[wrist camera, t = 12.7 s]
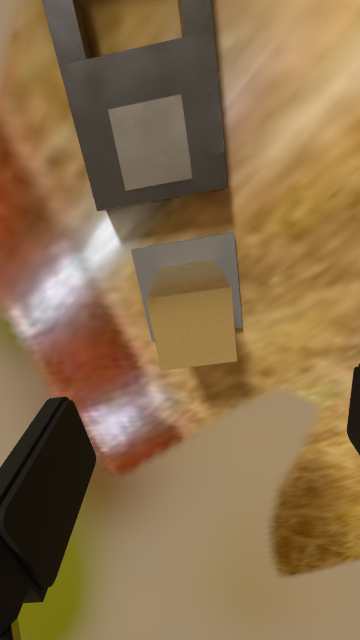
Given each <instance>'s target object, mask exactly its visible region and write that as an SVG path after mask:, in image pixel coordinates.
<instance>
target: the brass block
mask: <svg viewBox="0 0 360 640" xmlns="http://www.w3.org/2000/svg"><path fill="white" fill-rule="evenodd" d="M146 301H147V305H148V310H149V315H150V320H151V325H152V329H153V334H154V339H155V344H156V349H157V353H158V358H159V363H160V368H161V371H162V370H171V369H179V368H187V367H195V366H203V365H211V364H219V363H227V362H235V361H237V352H236V339H235V327H234V315H233V302H232V290H231V286H230V284H229V282H228V281H227V279H226V277H225V276H224V274H223V273H222V271H221V269H220V268H219V266H218V264H217V263H216V261H215V259H214V260H207V261H200V262H194V263H187V264H180V265H174V266H167V267H160V268H159V269H158V271H157V274H156V276H155V278H154V281H153V283H152V286H151V288H150V291H149V293H148V296H147V298H146Z"/></svg>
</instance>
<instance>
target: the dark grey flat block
mask: <svg viewBox="0 0 360 640" xmlns="http://www.w3.org/2000/svg"><path fill="white" fill-rule="evenodd" d="M42 2H43V6H44V10H45V14H46V18H47V21H48V25H49V29H50V33H51V37H52V40H53V44H54V48H55V52H56V56H57V59H58V63H59V67H60V71H61V75H62V78H63V82H64V86H65V90H66V94H67V98H68V101H69V105H70V109H71V113H72V117H73V120H74V124H75V128H76V132H77V136H78V139H79V143H80V147H81V151H82V155H83V158H84V162H85V166H86V170H87V174H88V178H89V181H90V185H91V189H92V193H93V197H94V200H95V204H96V208H97V211H108V210H113V209H118V208H124V207H129V206H135V205H140V204H146V203H151V202H157V201H162V200H168V199H173V198H179V197H184V196H190V195H195V194H200V193H206V192H211V191H217V190H222V189H225V188H227V187H228V183H227V172H226V161H225V149H224V138H223V127H222V116H221V104H220V93H219V82H218V71H217V59H216V48H215V37H214V26H213V14H212V3H211V0H178V6H179V14H180V22H181V31H182V38H179V39H175V40H170V41H166V42H161V43H157V44H153V45H148V46H144V47H139V48H135V49H130V50H126V51H122V52H117V53H113V54H108V55H104V56H100V57H95V58H93V55H92V50H91V46H90V41H89V37H88V32H87V28H86V23H85V19H84V14H83V10H82V5H81V1H80V0H42Z"/></svg>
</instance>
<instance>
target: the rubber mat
mask: <svg viewBox="0 0 360 640" xmlns="http://www.w3.org/2000/svg"><path fill="white" fill-rule="evenodd" d="M131 251H132V255H133V260H134V264H135V268H136V273H137V277H138V281H139V286H140V290H141V294H142V299H143V303H144V308H145V312H146V316H147V321H148V325H149V329H150V334H151V338H152V341H155V339H154V334H153V329H152V325H151V320H150V315H149V310H148V305H147V301H146V298H147V296H148V293H149V291H150V288H151V286H152V283H153V281H154V278H155V276H156V274H157V271H158V269H159V268H160V267H167V266H174V265H180V264H187V263H194V262H200V261H207V260H214V259H215V261H216V263H217V264H218V266H219V268H220V269H221V271H222V273H223V274H224V276H225V277H226V279H227V281H228V282H229V284H230V286H231V290H232V302H233V315H234V327H235V329H239V328H242V317H241V305H240V293H239V282H238V270H237V258H236V247H235V235H234V232H231V233H226V234H220V235H214V236H208V237H202V238H196V239H190V240H185V241H179V242H173V243H167V244H161V245H155V246H150V247H144V248H138V249H132V250H131Z"/></svg>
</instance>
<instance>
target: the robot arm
mask: <svg viewBox="0 0 360 640" xmlns="http://www.w3.org/2000/svg"><path fill="white" fill-rule="evenodd" d="M347 434H348V437H349V439H350V441H351V443H352V444H353V446H354V447H355V449H356V450H357V452H358V453H359V455H360V364H359V367H355V368H354V373H353V381H352V390H351V398H350V407H349V416H348V424H347ZM95 463H96V455H95V452H94V449H93V447H92V444H91V442H90V440H89V437H88V435H87V432H86V430H85V428H84V425H83V423H82V421H81V418H80V416H79V413H78V411H77V409H76V406H75V404H74V402H73V401H72V400H69V399H68V398H67V397H58V398H50V399H48V400H47V401H46V402H45V404H44V405H43V407H42V408H41V409H40V411H39V412H38V414H37V415H36V417H35V418H34V420H33V421H32V422H31V424H30V425H29V427H28V429H27V430H26V431H25V433H24V434H23V436H22V437H21V439H20V440H19V441H18V443H17V444H16V446H15V447H14V448H13V450H12V451H11V453H10V454H9V456H8V457H7V459H6V460H5V462H4V463H3V465H2V466H1V467H0V640H21V634H20V627H19V621H18V614H19V612H20V609H21V607H22V604H23V603H32V602H43V600H44V597H45V594H46V592H47V589H48V587H51V586H52V585H53V583H54V581H55V579H56V577H57V574H58V571H59V568H60V565H61V562H62V559H63V556H64V553H65V550H66V548H67V545H68V542H69V539H70V536H71V533H72V530H73V527H74V524H75V522H76V519H77V516H78V513H79V510H80V507H81V504H82V501H83V498H84V496H85V493H86V490H87V487H88V484H89V481H90V478H91V475H92V472H93V470H94V467H95Z"/></svg>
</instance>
